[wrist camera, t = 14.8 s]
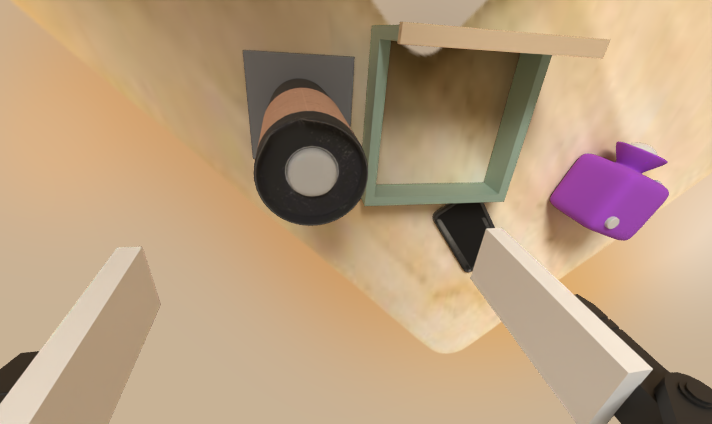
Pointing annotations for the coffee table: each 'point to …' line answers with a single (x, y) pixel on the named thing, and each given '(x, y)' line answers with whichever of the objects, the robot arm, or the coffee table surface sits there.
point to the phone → (463, 229)
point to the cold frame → (514, 119)
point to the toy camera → (612, 191)
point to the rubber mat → (280, 67)
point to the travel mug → (308, 157)
